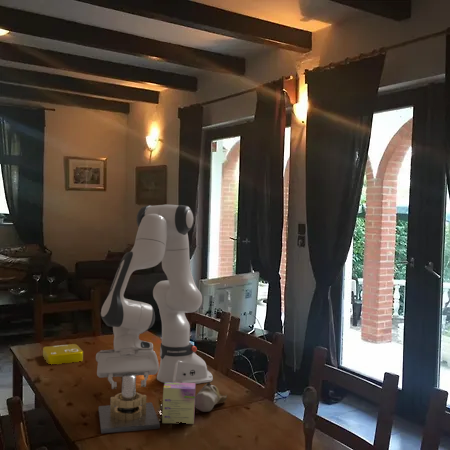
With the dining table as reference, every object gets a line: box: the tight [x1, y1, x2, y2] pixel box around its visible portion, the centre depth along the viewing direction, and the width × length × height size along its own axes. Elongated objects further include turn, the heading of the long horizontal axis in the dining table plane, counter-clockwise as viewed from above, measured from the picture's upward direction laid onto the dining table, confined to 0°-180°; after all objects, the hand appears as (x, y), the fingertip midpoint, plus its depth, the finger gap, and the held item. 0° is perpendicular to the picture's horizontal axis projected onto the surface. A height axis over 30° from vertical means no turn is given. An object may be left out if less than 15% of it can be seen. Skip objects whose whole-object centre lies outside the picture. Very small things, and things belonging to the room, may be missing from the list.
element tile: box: [42, 343, 84, 366], centre depth 236 cm, size 15×15×5 cm
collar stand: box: [98, 391, 161, 434], centre depth 174 cm, size 18×18×8 cm
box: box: [161, 382, 196, 425], centre depth 175 cm, size 10×6×12 cm, turn 92°
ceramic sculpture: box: [195, 382, 228, 413], centre depth 188 cm, size 11×9×15 cm
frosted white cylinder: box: [121, 373, 137, 413], centre depth 174 cm, size 5×5×13 cm
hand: (129, 387), depth 173 cm, fingers open, 8 cm apart
